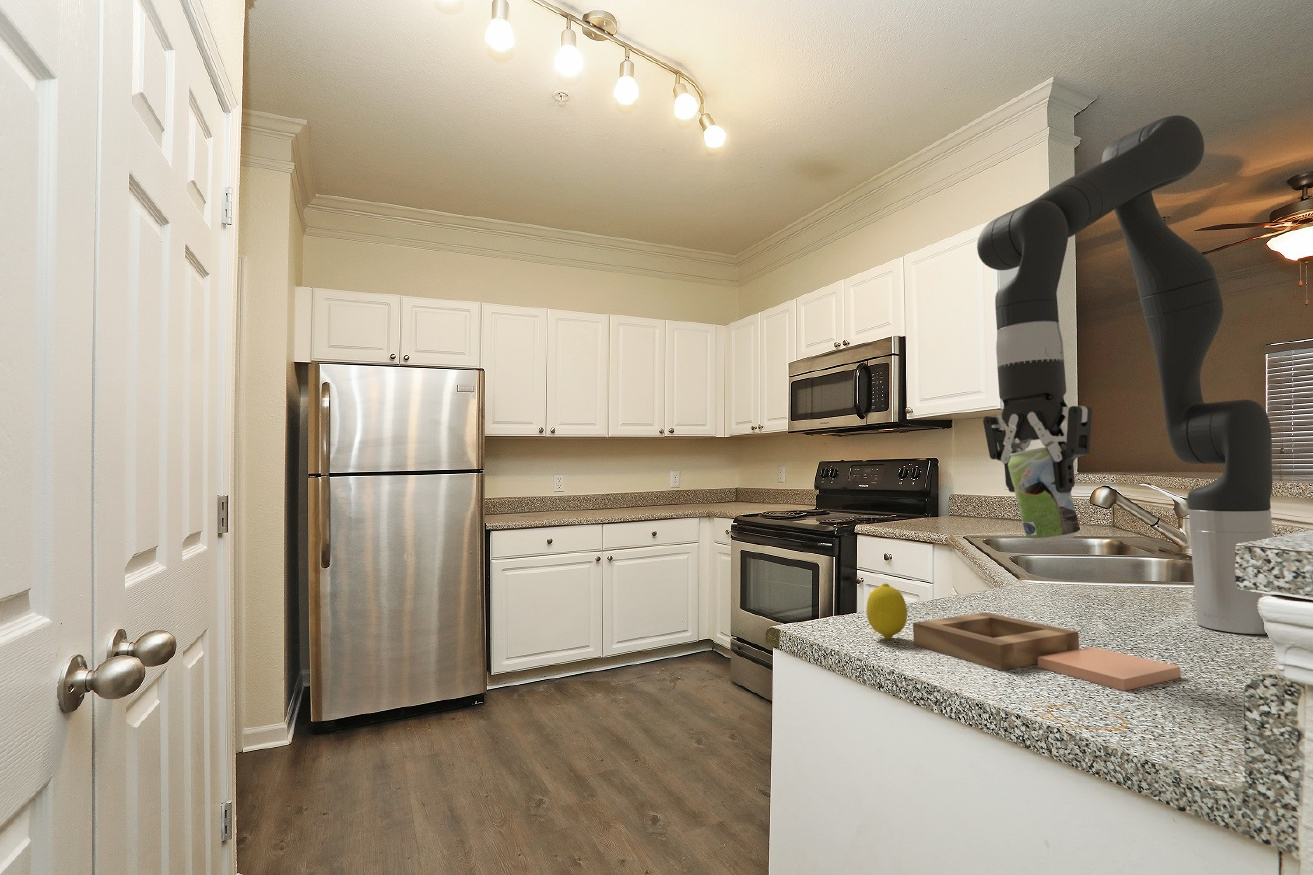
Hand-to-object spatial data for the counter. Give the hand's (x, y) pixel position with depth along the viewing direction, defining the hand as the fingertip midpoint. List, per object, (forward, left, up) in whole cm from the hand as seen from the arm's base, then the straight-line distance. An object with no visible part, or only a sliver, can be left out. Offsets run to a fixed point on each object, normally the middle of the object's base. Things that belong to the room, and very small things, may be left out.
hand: (1039, 491), depth 84 cm
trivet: (-1, +6, -21) cm, 22 cm away
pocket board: (+2, -7, -21) cm, 22 cm away
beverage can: (0, 0, -6) cm, 6 cm away
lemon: (+10, -18, -21) cm, 29 cm away
